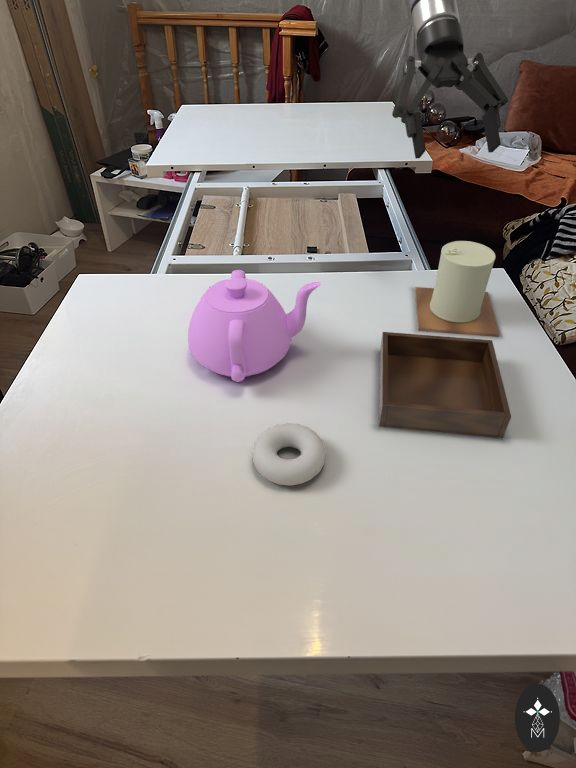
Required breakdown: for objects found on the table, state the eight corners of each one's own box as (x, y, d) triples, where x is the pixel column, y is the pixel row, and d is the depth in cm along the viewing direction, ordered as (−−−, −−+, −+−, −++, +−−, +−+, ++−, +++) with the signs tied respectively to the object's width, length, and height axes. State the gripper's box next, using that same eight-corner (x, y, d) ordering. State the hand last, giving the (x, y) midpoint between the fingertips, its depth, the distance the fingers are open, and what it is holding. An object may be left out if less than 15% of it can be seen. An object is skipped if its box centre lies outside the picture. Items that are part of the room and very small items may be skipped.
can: (426, 295, 103) (437, 237, 95) (474, 295, 103) (489, 238, 95) (433, 322, 96) (446, 263, 88) (485, 323, 96) (503, 264, 88)
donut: (336, 478, 71) (309, 426, 78) (338, 462, 69) (310, 410, 75) (265, 500, 68) (243, 444, 75) (265, 484, 66) (242, 427, 73)
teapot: (324, 393, 83) (329, 320, 74) (184, 398, 82) (171, 325, 73) (312, 313, 99) (314, 246, 90) (195, 317, 99) (186, 249, 89)
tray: (485, 361, 89) (492, 340, 86) (502, 438, 76) (511, 416, 73) (379, 352, 91) (382, 331, 88) (378, 426, 78) (382, 405, 75)
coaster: (487, 294, 104) (488, 291, 104) (498, 336, 94) (499, 334, 94) (414, 289, 106) (415, 286, 105) (418, 330, 95) (418, 328, 95)
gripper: (492, 44, 97) (512, 156, 96) (362, 50, 93) (381, 167, 92) (516, 13, 90) (537, 134, 89) (375, 18, 86) (396, 145, 85)
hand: (458, 151), depth 91 cm, fingers open, 13 cm apart
